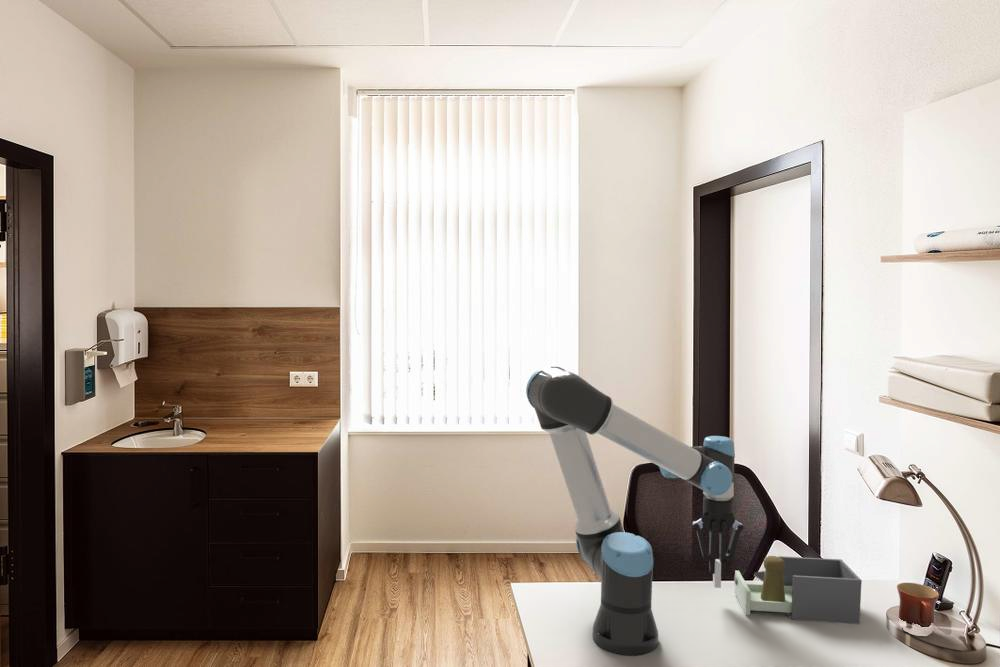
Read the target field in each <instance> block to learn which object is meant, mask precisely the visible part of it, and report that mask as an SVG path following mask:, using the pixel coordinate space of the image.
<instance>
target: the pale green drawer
mask: <svg viewBox="0 0 1000 667" xmlns="http://www.w3.org/2000/svg"><path fill="white" fill-rule="evenodd" d="M734 572H735V573H734V577H733V578H734V579H733V582H734V594H735V596H736V598H737V600H738V603H739V604H740V606H741V607H742V610H743V612H744V615H747V616H748V615H749V616H751V611H755V612H756V611H758V612H773V613H774V612H775V613H787V612H788V613H791V609H792V586H784V592H785V602H774V601H763V600H762V599H761V592H762V586H763V583H749V582H748V583H747V582H746V580H745V579H744V577H743V576H742V574H741V572H740V570H734ZM788 613H787V614H788Z"/></svg>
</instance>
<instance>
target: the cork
mask: <svg viewBox="0 0 1000 667" xmlns="http://www.w3.org/2000/svg"><path fill="white" fill-rule="evenodd" d="M763 567H764V569H765V570H764V571H765V576H764V581H763V582H762V584H763V586H762V592H761V599H762V600H763V601H774V602H785V592H784V582H783V571H784V569H785V562H784V560H783V559H781V558H780V557H779V556H777V555H776V556H775V555H769V556H765V557H764V559H763Z"/></svg>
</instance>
